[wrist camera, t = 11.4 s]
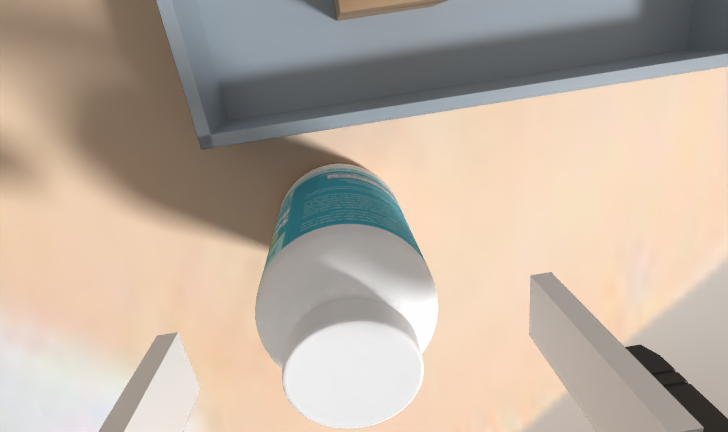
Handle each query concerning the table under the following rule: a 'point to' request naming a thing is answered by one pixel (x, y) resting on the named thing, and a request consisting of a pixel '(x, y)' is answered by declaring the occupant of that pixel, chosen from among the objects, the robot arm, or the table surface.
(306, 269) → the pill bottle
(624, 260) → the table surface
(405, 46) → the tote
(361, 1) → the walnut cube
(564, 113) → the table surface
